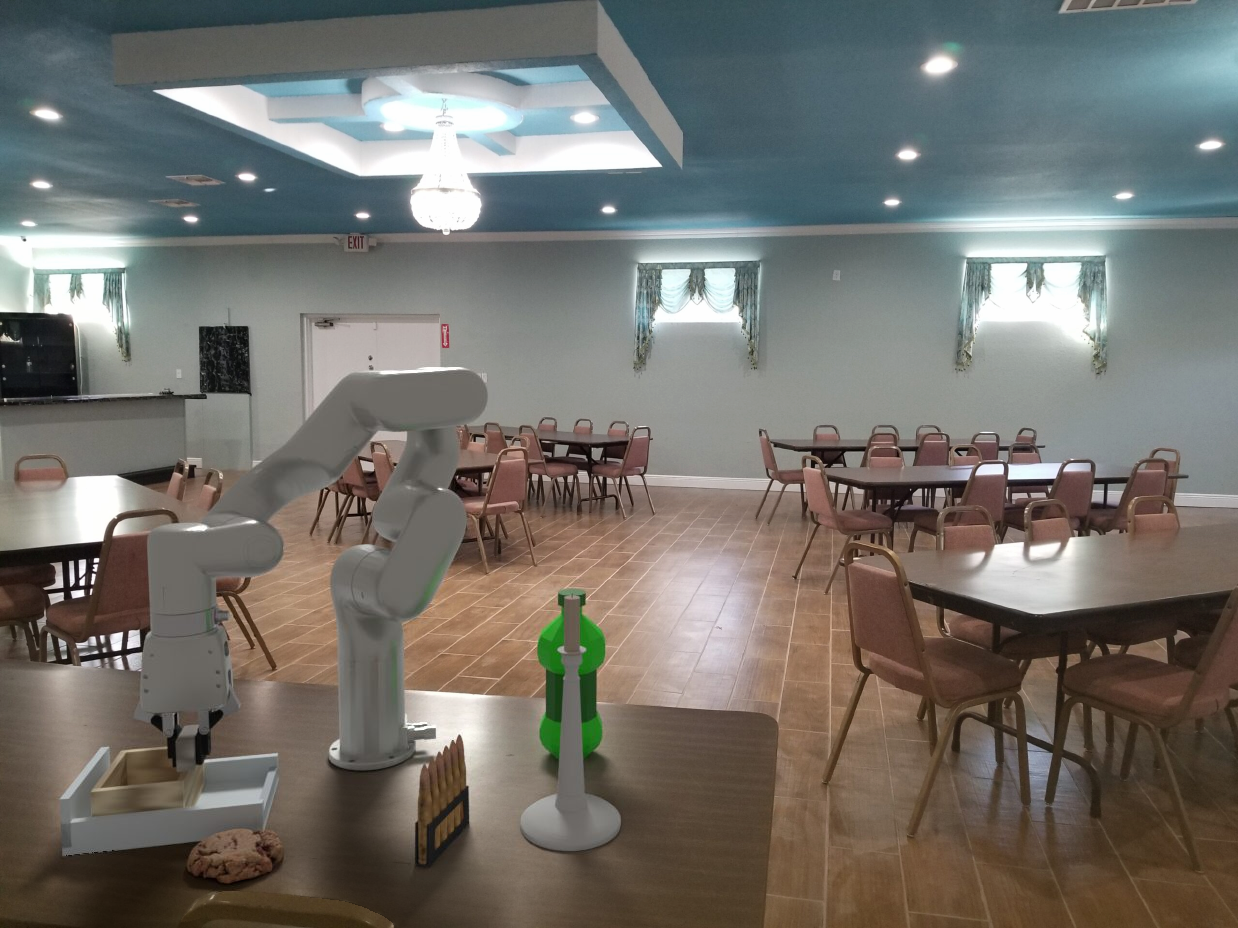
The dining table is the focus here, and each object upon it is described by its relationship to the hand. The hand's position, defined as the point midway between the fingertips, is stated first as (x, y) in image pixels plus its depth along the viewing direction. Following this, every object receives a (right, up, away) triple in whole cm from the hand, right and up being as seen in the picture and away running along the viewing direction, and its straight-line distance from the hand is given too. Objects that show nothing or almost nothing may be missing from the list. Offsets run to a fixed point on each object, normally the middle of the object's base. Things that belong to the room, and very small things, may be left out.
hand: (190, 760), depth 110 cm
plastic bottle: (+48, -6, +20) cm, 52 cm away
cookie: (+10, -9, -10) cm, 17 cm away
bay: (-1, -7, 0) cm, 7 cm away
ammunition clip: (+34, -8, -5) cm, 35 cm away
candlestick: (+49, -8, -1) cm, 50 cm away
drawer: (-4, -6, -1) cm, 7 cm away
